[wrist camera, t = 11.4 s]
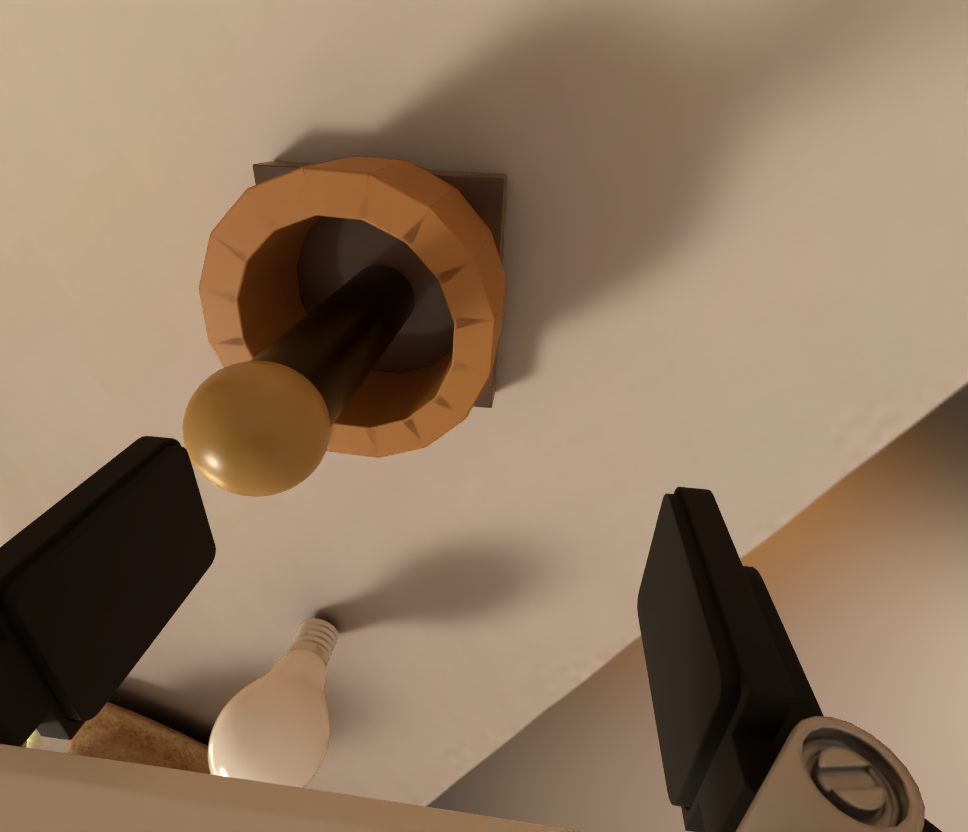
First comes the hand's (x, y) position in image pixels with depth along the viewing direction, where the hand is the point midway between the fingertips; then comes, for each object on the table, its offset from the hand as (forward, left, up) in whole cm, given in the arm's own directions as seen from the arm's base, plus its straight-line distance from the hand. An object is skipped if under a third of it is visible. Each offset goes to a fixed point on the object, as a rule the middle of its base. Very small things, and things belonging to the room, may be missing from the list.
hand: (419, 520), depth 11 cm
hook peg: (0, -5, -14) cm, 15 cm away
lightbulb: (+24, -11, -16) cm, 31 cm away
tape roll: (0, -5, -14) cm, 15 cm away
